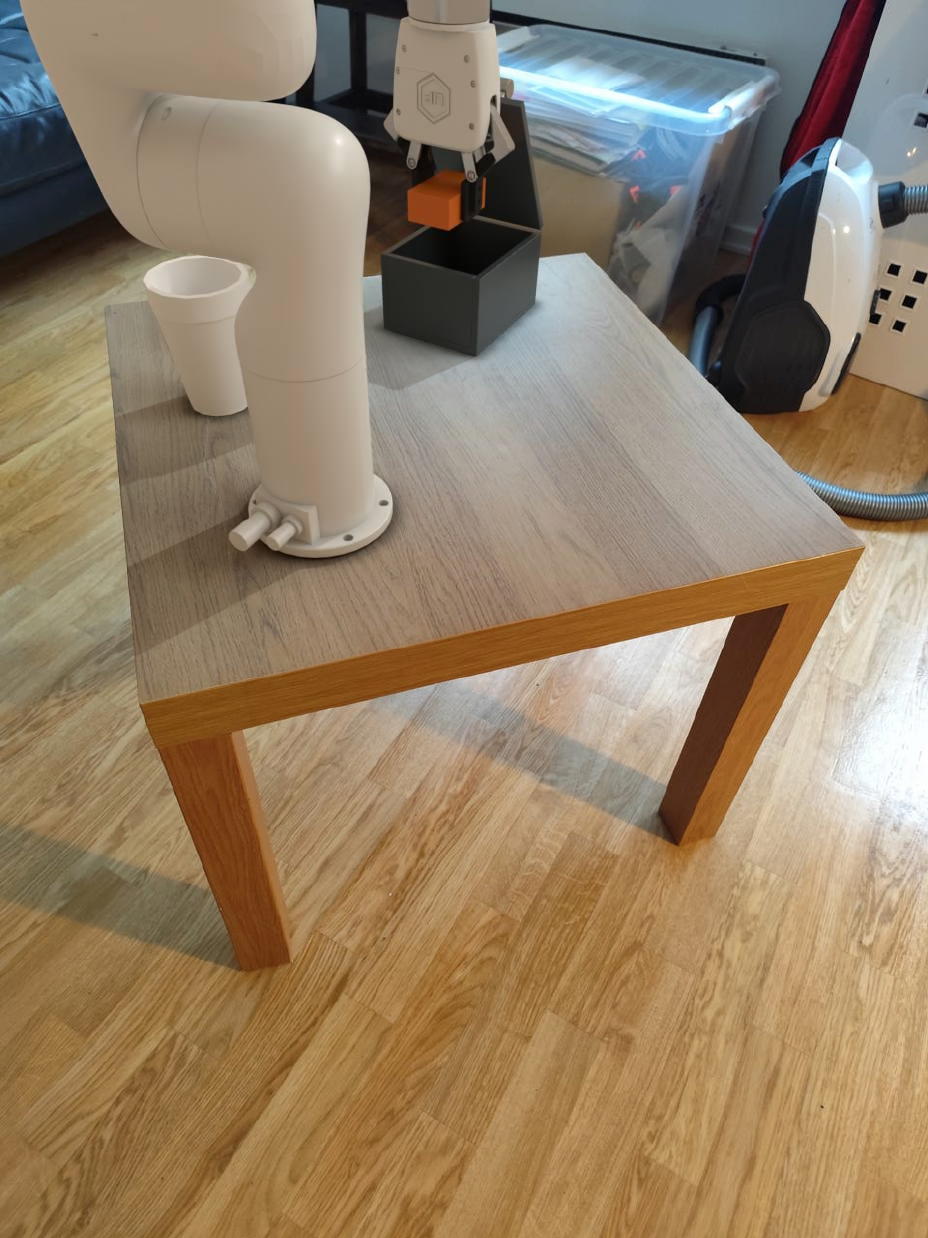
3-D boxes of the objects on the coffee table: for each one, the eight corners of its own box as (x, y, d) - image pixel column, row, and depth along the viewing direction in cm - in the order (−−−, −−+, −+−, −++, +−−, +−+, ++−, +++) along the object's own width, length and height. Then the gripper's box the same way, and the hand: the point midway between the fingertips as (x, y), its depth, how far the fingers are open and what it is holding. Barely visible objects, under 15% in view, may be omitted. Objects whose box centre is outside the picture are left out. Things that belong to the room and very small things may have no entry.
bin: (476, 356, 94) (479, 279, 87) (383, 328, 98) (380, 253, 91) (535, 304, 103) (541, 231, 97) (448, 280, 107) (449, 210, 101)
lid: (520, 106, 81) (542, 68, 82) (412, 86, 85) (434, 50, 86) (540, 230, 96) (558, 196, 97) (448, 208, 100) (466, 176, 101)
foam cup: (166, 387, 87) (134, 264, 78) (251, 369, 90) (230, 248, 81) (189, 433, 81) (157, 305, 72) (279, 411, 84) (259, 287, 75)
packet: (448, 230, 85) (449, 200, 83) (407, 220, 87) (407, 190, 85) (484, 206, 90) (486, 177, 88) (445, 197, 92) (445, 168, 90)
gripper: (349, -2, 76) (361, 206, 89) (513, 23, 70) (501, 240, 83) (392, -14, 80) (398, 186, 93) (550, 9, 75) (533, 217, 88)
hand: (446, 209), depth 88 cm, fingers closed on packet, 5 cm apart
